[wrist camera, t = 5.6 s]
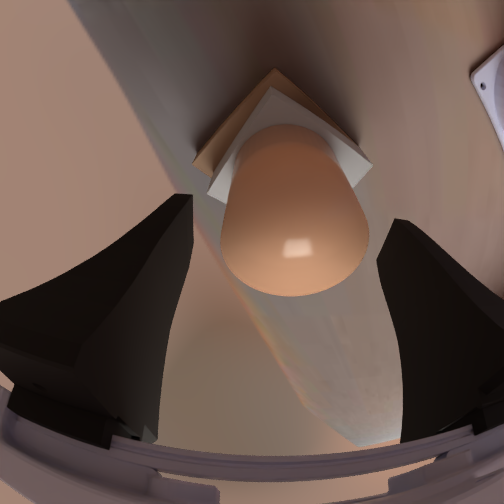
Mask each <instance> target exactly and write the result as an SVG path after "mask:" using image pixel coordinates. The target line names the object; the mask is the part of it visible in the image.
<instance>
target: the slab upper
mask: <svg viewBox="0 0 504 504" xmlns="http://www.w3.org/2000/svg"><path fill="white" fill-rule="evenodd" d="M281 124H292V125H299V126H302V127H305V128H308V129H310V130H312V131H314V132H316V133H317V134H319V135H320V136H321V137H322V138H323V139H324V140H325V141H326V142H327V143H328V144H329V146H330V147H331V149H332V151H333V152H334V154H335V156H336V158H337V160H338V162H339V164H340V166H341V167H342V169H343V171H344V173H345V175H346V177H347V179H348V181H349V183H350V185H351V187H352V189H353V187H354V186H355V185H356V184H357V183H358V182H359V181H360V180H361V179H362V177H363V176H364V175H365V174H366V173H367V172H368V171H369V170H370V168H371V167H372V166H373V165H372V163H371V162H370V161H369V159H368V158H367V157H366V155H365V154H364V153H363V151H362V150H361V149H360V147H358V146H357V145H356V144H354V143H353V142H352V141H351V140H349V139H348V138H347V137H345V136H344V135H343V134H341V133H340V132H339V131H337V130H336V129H335V128H333V127H332V126H330V125H329V124H328V123H326V122H325V121H323V120H322V119H321V118H319V117H318V116H316V115H315V114H313V113H312V112H311V111H309V110H308V109H306V108H305V107H303V106H302V105H300V104H299V103H297V102H295V101H294V100H292V99H291V98H289V97H288V96H286V95H285V94H283V93H281V92H280V91H278V90H276V89H275V88H273V87H271V86H270V87H269V89H268V90H267V92H266V93H265V95H264V96H263V97H262V99H261V100H260V102H259V103H258V105H257V106H256V108H255V109H254V111H253V112H252V113H251V115H250V116H249V118H248V119H247V121H246V122H245V124H244V125H243V127H242V128H241V130H240V131H239V133H238V135H237V136H236V138H235V139H234V141H233V142H232V144H231V145H230V147H229V148H228V150H227V152H226V153H225V155H224V156H223V158H222V160H221V161H220V163H219V164H218V166H217V168H216V169H215V171H214V172H213V175H212V178H211V181H210V185H209V188H208V191H207V194H208V195H210V196H212V197H214V198H216V199H218V200H220V201H222V202H224V203H226V204H227V199H228V194H229V189H230V183H231V178H232V173H233V168H234V163H235V159H236V156H237V154H238V152H239V150H240V148H241V147H242V145H243V144H244V143H245V142H246V141H247V140H248V139H249V138H250V137H251V136H252V135H254V134H255V133H256V132H258V131H260V130H262V129H264V128H267V127H270V126H274V125H281Z"/></svg>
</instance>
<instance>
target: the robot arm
mask: <svg viewBox="0 0 504 504" xmlns="http://www.w3.org/2000/svg"><path fill="white" fill-rule="evenodd" d="M471 81H472V83H473V85H474V87H475V89H476V91H477V93H478V95H479V97H480V99H481V101H482V103H483V105H484V107H485V109H486V111H487V113H488V115H489V117H490V119H491V122H492V124H493V126H494V129H495V131H496V133H497V136H498V138H499V141H500V143H501V146H502V148H503V151H504V45H503V46H502V47H500V48H499V49H498V50H497V51H496V52H495V53H494V54H493V55H491V56H490V57H489V58H488V59H487V60H486V61H485V62H483V63H482V64H481V65H480V66H479V67H478V68H477V69H476V70H474V71H473V72H472V74H471ZM481 83H482V88H481V87H480V84H481ZM193 243H194V238H193V195H190V194H174V195H172V196H171V197H170V198H169V199H168V200H166V201H165V202H164V203H163V204H162V205H160V206H159V207H158V208H157V209H156V210H155V211H153V212H152V213H151V214H150V215H149V216H147V217H146V218H145V219H144V220H143V221H141V222H140V223H139V224H138V225H136V226H135V227H134V228H132V229H131V230H130V231H128V232H127V233H126V234H125V235H123V236H122V237H121V238H119V239H118V240H117V241H115V242H114V243H113V244H111V245H110V246H108V247H107V248H106V249H104V250H102V251H101V252H99V253H98V254H96V255H95V256H93V257H92V258H90V259H88V260H86V261H84V262H83V263H81V264H79V265H78V266H76V267H74V268H73V269H71V270H69V271H67V272H65V273H63V274H62V275H60V276H58V277H56V278H54V279H52V280H50V281H48V282H45V283H43V284H41V285H39V286H37V287H35V288H33V289H30V290H28V291H26V292H23V293H20V294H18V295H16V296H13V297H11V298H8V299H6V300H3V301H1V302H0V371H1V372H2V373H3V374H4V375H5V376H7V377H8V378H9V379H10V380H11V381H12V382H13V383H14V388H13V390H12V392H10V391H9V390H7V389H5V388H4V387H2V386H1V385H0V480H2V481H3V482H4V483H5V484H7V485H8V486H10V487H11V488H12V489H14V490H15V491H17V492H18V493H19V494H21V495H22V496H24V497H25V498H27V499H28V500H30V501H31V502H33V503H35V504H220V503H219V501H220V491H219V490H218V489H217V488H216V487H215V486H212V485H204V484H198V483H191V482H186V481H181V480H175V479H170V478H165V477H162V476H161V474H160V473H158V472H157V471H159V472H164V473H170V474H176V475H182V476H189V477H196V478H205V479H216V480H227V481H244V482H294V481H311V480H322V479H333V478H341V477H349V476H355V475H362V474H368V473H373V472H379V471H384V470H388V469H393V468H397V467H401V466H405V465H409V464H413V463H417V462H420V461H424V460H427V459H431V458H434V457H436V459H435V460H434V462H433V463H430V464H427V465H424V466H422V467H420V468H417V469H415V470H412V471H410V472H407V473H404V474H400V475H397V476H394V477H391V478H389V479H388V486H389V491H388V492H387V493H383V494H379V495H374V496H369V497H364V498H358V499H353V500H346V501H340V502H332V503H325V504H504V300H503V299H501V298H500V297H499V296H497V295H496V294H495V293H493V292H492V291H491V290H489V289H488V288H487V287H486V286H484V285H483V284H482V283H481V282H479V281H478V280H477V279H476V278H475V277H473V276H472V275H471V274H470V273H469V272H468V271H467V270H465V269H464V268H463V267H462V266H461V265H460V264H459V263H458V262H457V261H455V260H454V259H453V258H452V257H451V256H450V255H449V254H448V253H447V252H446V251H444V250H443V249H442V248H441V247H440V246H439V245H438V244H437V243H436V242H435V241H433V240H432V239H431V238H430V237H429V236H428V235H427V234H425V233H424V232H423V231H422V230H421V229H419V228H418V227H417V226H415V225H414V224H413V223H411V222H410V221H408V220H402V219H396V218H395V219H394V221H393V223H392V226H391V228H390V231H389V233H388V235H387V237H386V240H385V242H384V244H383V247H382V249H381V251H380V253H379V255H378V257H377V260H376V261H377V267H378V272H379V277H380V282H381V286H382V289H383V292H384V296H385V299H386V302H387V305H388V308H389V312H390V315H391V318H392V321H393V325H394V328H395V332H396V336H397V340H398V346H399V352H400V360H401V369H402V382H403V417H402V431H401V439H400V444H396V445H391V446H386V447H380V448H374V449H367V450H360V451H352V452H344V453H333V454H320V455H302V456H251V455H232V454H220V453H209V452H201V451H192V450H185V449H178V448H172V447H166V446H161V445H155V444H152V443H154V442H155V441H156V440H157V439H158V420H159V406H160V396H161V387H162V378H163V371H164V364H165V356H166V351H167V344H168V339H169V333H170V328H171V324H172V320H173V317H174V314H175V310H176V307H177V304H178V300H179V297H180V294H181V291H182V288H183V285H184V281H185V278H186V275H187V272H188V269H189V264H190V259H191V254H192V249H193ZM437 456H438V457H437Z"/></svg>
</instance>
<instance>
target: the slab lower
mask: <svg viewBox="0 0 504 504" xmlns="http://www.w3.org/2000/svg"><path fill="white" fill-rule="evenodd" d="M270 86H271V87H273V88H275V89H276V90H278V91H280V92H281V93H283V94H285V95H286V96H288V97H289V98H291V99H292V100H294V101H295V102H297V103H299V104H300V105H302V106H303V107H305V108H306V109H308V110H309V111H311V112H312V113H313V114H315V115H316V116H318V117H319V118H321V119H322V120H323V121H325V122H326V123H328V124H329V125H330V126H332V127H333V128H335V129H336V130H337V131H339V132H340V133H341V134H343V135H344V136H345V137H347V138H348V139H349V140H351V141H352V142H353V140H352V139H351V138H350V137H349V136H348V135H347V134H346V133H345V132H344V131H343V130H342V129H341V128H340V127H339V126H338V125H337V124H336V123H335V122H334V121H333V120H332V119H331V118H330V117H329V116H328V115H327V114H326V113H325V112H324V111H323V110H322V109H321V108H320V107H319V106H318V105H317V104H316V103H315V102H313V101H312V100H311V99H310V98H309V97H308V96H307V95H306V94H305V93H304V92H303V91H301V90H300V89H299V88H298V87H297V86H296V85H295V84H294V83H292V82H291V81H290V80H289V79H288V78H287V77H285V76H284V75H283V74H282V73H281V72H280V71H278V70H277V69H276V68H275V67H274V68H273V69H272V70H271V71H270V73H269V74H268V75H267V76H266V77H265V78H264V79H263V80H262V81H261V82H260V83H259V84H258V85H257V86H256V87H255V88H254V89H253V90H252V91H251V92H250V93H249V94H248V96H247V97H246V98H245V99H244V100H243V101H242V102H241V103H240V104H239V105H238V106H237V108H236V109H235V110H234V111H233V112H232V113H231V114H230V115H229V117H228V118H227V119H226V120H225V121H224V122H223V123H222V125H221V126H220V127H219V128H218V129H217V130H216V132H215V133H214V134H213V135H212V136H211V138H210V139H209V140H208V141H207V142H206V144H205V145H204V146H203V147H202V148H201V150H200V151H199V152H198V153H197V155H196V157H195V159H194V161H193V163H192V165H193V166H195V167H196V168H198V169H199V170H201V171H202V172H203V173H205V174H206V175H208V176H209V177H210V178H212V175H213V172H214V171H215V169H216V168H217V166H218V164H219V163H220V161H221V160H222V158H223V156H224V155H225V153H226V152H227V150H228V148H229V147H230V145H231V144H232V142H233V141H234V139H235V138H236V136H237V135H238V133H239V131H240V130H241V128H242V127H243V125H244V124H245V122H246V121H247V119H248V118H249V116H250V115H251V113H252V112H253V111H254V109H255V108H256V106H257V105H258V103H259V102H260V100H261V99H262V97H263V96H264V95H265V93H266V92H267V90H268V89H269V87H270ZM353 143H354V142H353ZM354 144H355V143H354Z"/></svg>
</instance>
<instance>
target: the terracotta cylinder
mask: <svg viewBox="0 0 504 504" xmlns="http://www.w3.org/2000/svg"><path fill="white" fill-rule="evenodd" d="M368 242H369V227H368V222H367V219H366V217H365V214H364V212H363V210H362V208H361V206H360V204H359V202H358V199H357V197H356V195H355V193H354V191H353V189H352V187H351V185H350V183H349V181H348V179H347V177H346V175H345V173H344V171H343V169H342V167H341V166H340V164H339V162H338V160H337V158H336V156H335V154H334V152H333V151H332V149H331V147H330V146H329V144H328V143H327V142H326V141H325V140H324V139H323V138H322V137H321V136H320V135H319V134H317V133H316V132H314V131H312V130H310V129H308V128H305V127H302V126H299V125H292V124H281V125H274V126H270V127H267V128H264V129H262V130H260V131H258V132H256V133H255V134H254V135H252V136H251V137H250V138H249V139H248V140H247V141H246V142H245V143H244V144H243V145H242V147H241V148H240V150H239V152H238V154H237V156H236V159H235V163H234V168H233V173H232V178H231V183H230V189H229V194H228V199H227V204H226V210H225V215H224V221H223V226H222V232H221V242H220V244H221V251H222V255H223V258H224V260H225V262H226V264H227V266H228V267H229V269H230V270H231V271H232V273H233V274H234V275H235V276H236V277H237V278H239V279H240V280H241V281H242V282H244V283H245V284H247V285H248V286H250V287H252V288H254V289H256V290H259V291H262V292H265V293H268V294H273V295H279V296H302V295H308V294H313V293H317V292H320V291H323V290H326V289H328V288H330V287H332V286H334V285H336V284H338V283H339V282H341V281H343V280H344V279H345V278H346V277H348V276H349V275H350V274H351V273H352V272H353V271H354V270H355V269H356V268H357V266H358V265H359V264H360V262H361V261H362V259H363V257H364V255H365V253H366V250H367V247H368Z"/></svg>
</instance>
